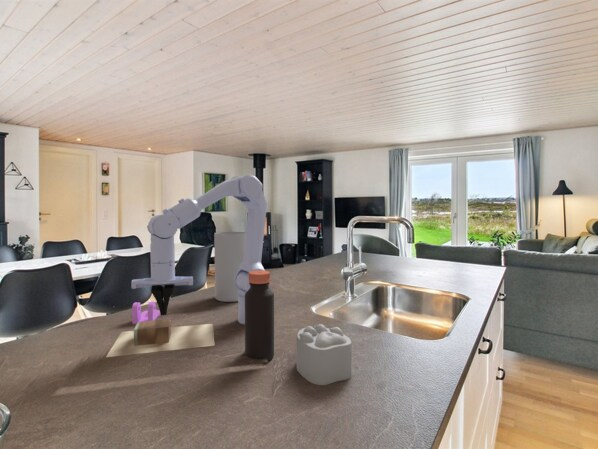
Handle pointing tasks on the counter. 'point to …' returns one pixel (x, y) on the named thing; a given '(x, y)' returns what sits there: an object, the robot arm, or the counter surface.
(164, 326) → the walnut block
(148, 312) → the bracket
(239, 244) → the cylinder vase
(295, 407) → the counter surface
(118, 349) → the birch board
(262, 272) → the bottle
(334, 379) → the lumpy-topped squat cylinder
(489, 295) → the counter surface
